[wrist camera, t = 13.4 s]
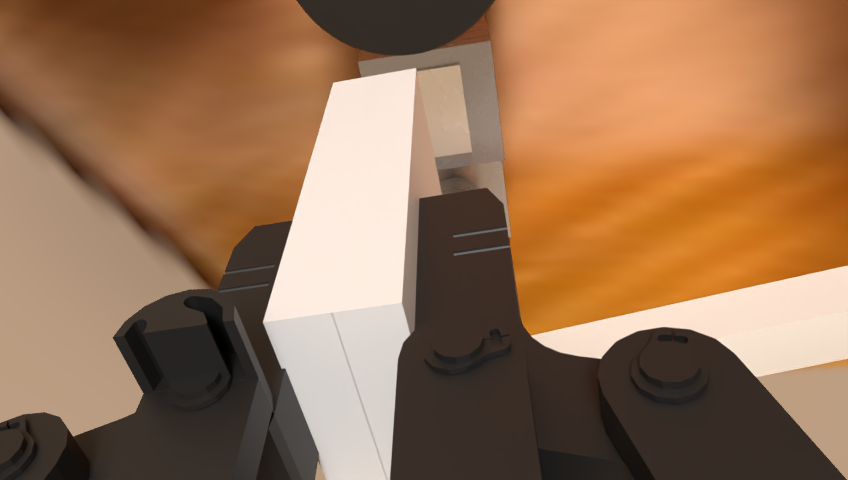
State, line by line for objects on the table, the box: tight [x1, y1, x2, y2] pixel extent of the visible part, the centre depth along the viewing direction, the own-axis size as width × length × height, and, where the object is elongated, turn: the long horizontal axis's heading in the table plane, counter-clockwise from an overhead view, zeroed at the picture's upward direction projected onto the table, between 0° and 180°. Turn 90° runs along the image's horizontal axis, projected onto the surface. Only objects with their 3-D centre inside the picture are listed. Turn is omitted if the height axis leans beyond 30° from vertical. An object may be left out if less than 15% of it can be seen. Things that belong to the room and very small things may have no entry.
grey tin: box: [358, 14, 505, 170], centre depth 38 cm, size 6×6×6 cm
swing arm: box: [531, 266, 848, 377], centre depth 30 cm, size 25×4×3 cm, turn 107°
